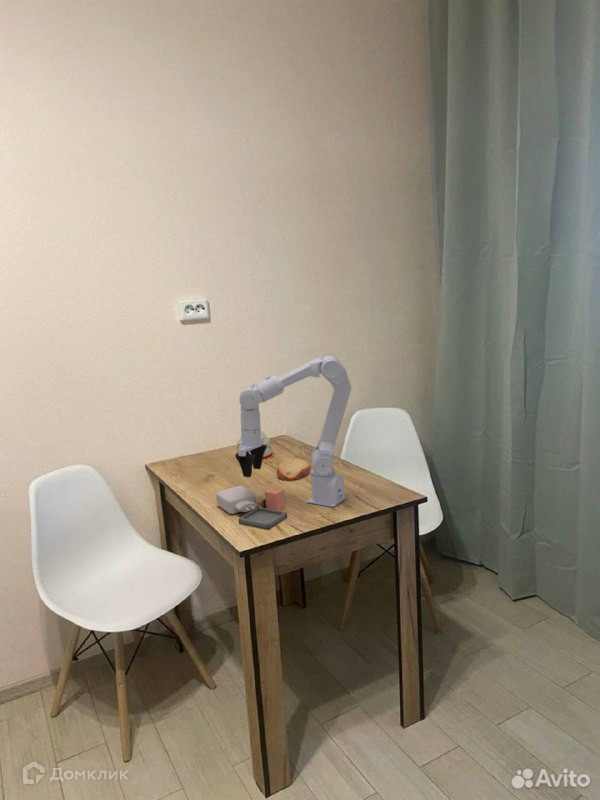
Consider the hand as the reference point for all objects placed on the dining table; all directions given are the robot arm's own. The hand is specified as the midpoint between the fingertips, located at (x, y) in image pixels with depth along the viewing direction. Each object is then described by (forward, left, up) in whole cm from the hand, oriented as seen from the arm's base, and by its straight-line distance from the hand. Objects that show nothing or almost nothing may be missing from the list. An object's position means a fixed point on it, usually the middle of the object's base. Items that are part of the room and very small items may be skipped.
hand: (252, 472), depth 174 cm
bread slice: (+8, -32, -11) cm, 35 cm away
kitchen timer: (+31, -41, -11) cm, 52 cm away
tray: (-9, +8, -11) cm, 16 cm away
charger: (+2, +4, -11) cm, 12 cm away
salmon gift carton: (-7, -1, -11) cm, 13 cm away
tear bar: (-4, -1, -11) cm, 11 cm away
